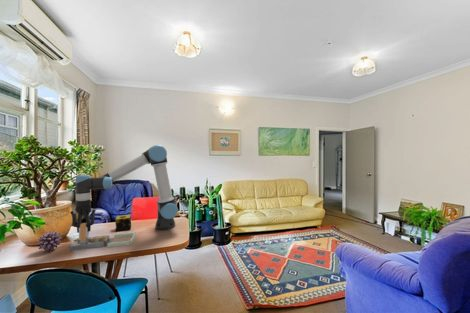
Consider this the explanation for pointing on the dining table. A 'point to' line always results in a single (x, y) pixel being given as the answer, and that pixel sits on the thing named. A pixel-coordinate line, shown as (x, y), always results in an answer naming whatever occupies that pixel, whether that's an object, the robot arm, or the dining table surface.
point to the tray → (122, 241)
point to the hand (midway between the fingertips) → (84, 237)
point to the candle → (123, 223)
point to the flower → (49, 240)
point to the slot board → (89, 244)
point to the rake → (83, 233)
